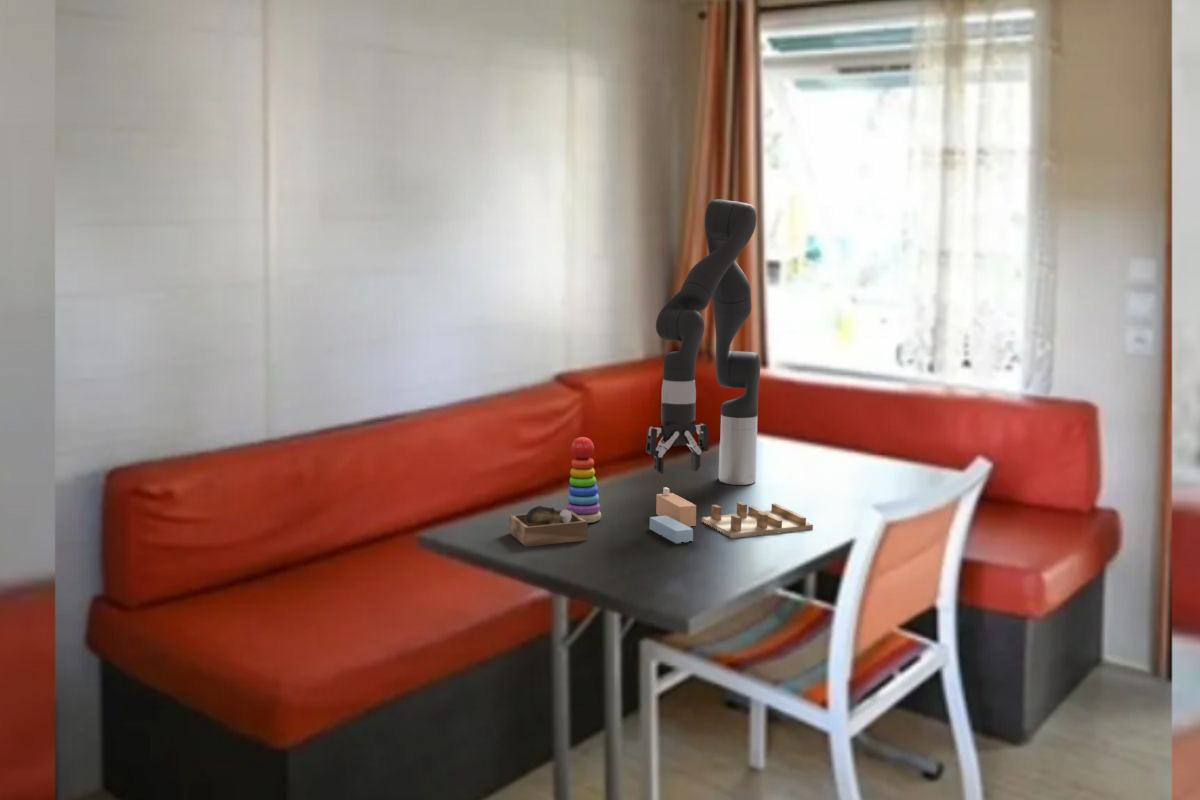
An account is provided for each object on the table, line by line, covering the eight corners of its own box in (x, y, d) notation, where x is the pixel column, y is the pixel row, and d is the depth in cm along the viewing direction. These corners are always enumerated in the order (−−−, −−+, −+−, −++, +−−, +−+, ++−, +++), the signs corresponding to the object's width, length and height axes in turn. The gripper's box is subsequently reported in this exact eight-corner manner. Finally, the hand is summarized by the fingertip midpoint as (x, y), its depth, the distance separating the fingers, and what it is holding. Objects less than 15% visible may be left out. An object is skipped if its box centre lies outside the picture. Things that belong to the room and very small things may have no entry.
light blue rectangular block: (649, 530, 261) (649, 517, 260) (665, 528, 262) (665, 515, 262) (676, 545, 250) (676, 531, 249) (692, 542, 252) (693, 529, 251)
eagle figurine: (538, 522, 259) (517, 524, 251) (556, 496, 258) (535, 498, 250) (563, 545, 256) (542, 547, 248) (581, 519, 255) (560, 521, 247)
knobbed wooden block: (656, 515, 272) (656, 487, 271) (672, 514, 274) (672, 486, 272) (679, 529, 261) (680, 500, 260) (695, 527, 263) (696, 498, 262)
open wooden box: (509, 533, 256) (509, 515, 256) (569, 527, 261) (569, 509, 261) (525, 546, 247) (525, 528, 246) (587, 540, 252) (587, 521, 251)
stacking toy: (606, 516, 270) (606, 435, 267) (594, 525, 263) (594, 442, 259) (573, 513, 273) (573, 433, 269) (560, 522, 265) (560, 439, 262)
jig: (701, 521, 266) (702, 504, 266) (779, 513, 274) (780, 496, 273) (731, 538, 254) (732, 520, 253) (812, 529, 261) (813, 511, 261)
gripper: (699, 395, 269) (698, 466, 271) (642, 398, 263) (640, 470, 266) (715, 400, 262) (713, 473, 265) (656, 404, 257) (655, 478, 259)
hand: (677, 471), depth 265 cm, fingers open, 8 cm apart
